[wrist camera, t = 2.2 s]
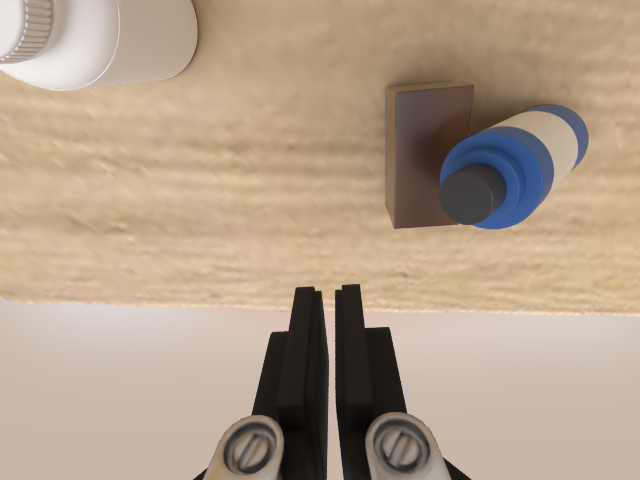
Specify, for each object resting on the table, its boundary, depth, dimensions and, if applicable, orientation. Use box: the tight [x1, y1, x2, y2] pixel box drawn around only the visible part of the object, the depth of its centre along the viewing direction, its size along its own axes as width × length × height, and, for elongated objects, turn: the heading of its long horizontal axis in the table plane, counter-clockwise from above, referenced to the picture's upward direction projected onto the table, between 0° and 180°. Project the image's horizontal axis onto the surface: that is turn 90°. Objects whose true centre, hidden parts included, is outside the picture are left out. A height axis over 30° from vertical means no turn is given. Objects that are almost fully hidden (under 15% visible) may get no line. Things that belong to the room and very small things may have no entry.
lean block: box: [386, 81, 474, 229], centre depth 26 cm, size 5×10×5 cm, turn 5°
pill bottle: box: [0, 0, 198, 91], centre depth 18 cm, size 8×8×15 cm
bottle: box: [438, 104, 588, 229], centre depth 22 cm, size 12×6×13 cm, turn 96°
